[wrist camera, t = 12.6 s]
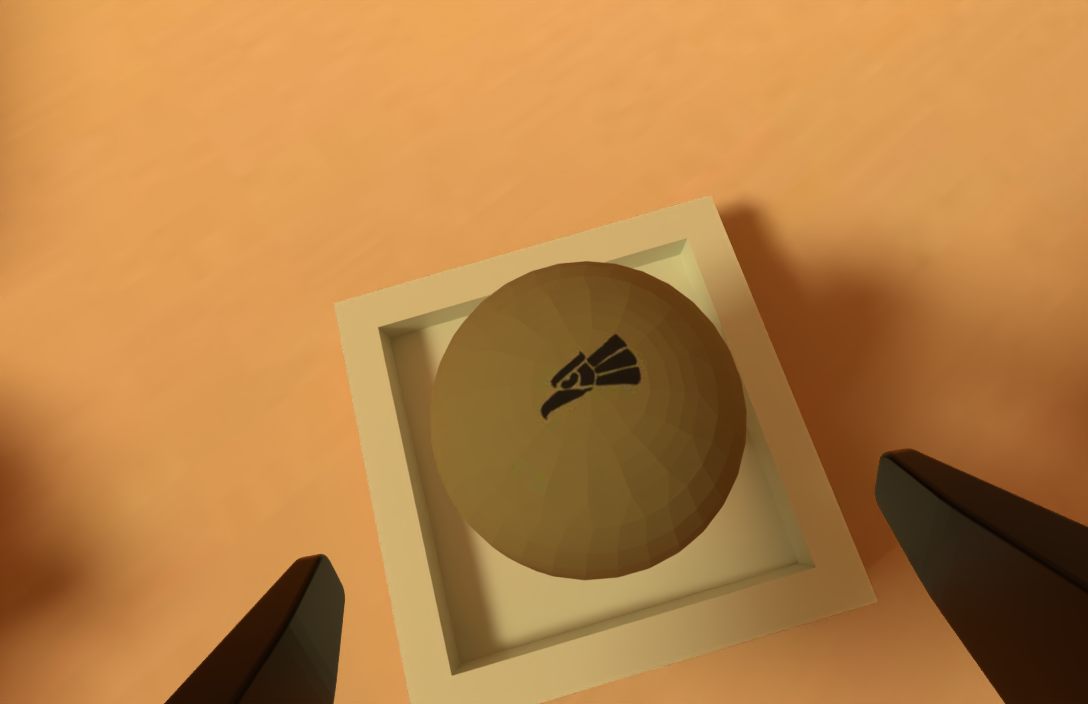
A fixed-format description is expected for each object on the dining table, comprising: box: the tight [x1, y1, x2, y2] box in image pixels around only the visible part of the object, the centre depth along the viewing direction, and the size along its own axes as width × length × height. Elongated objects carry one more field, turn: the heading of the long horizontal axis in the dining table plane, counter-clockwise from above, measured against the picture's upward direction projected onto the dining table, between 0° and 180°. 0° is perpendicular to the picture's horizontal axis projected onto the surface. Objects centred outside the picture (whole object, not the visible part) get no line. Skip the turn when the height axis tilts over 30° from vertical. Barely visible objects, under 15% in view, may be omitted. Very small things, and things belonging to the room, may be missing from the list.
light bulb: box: [430, 261, 747, 580], centre depth 12 cm, size 6×6×10 cm
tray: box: [334, 195, 879, 704], centre depth 17 cm, size 12×12×2 cm
